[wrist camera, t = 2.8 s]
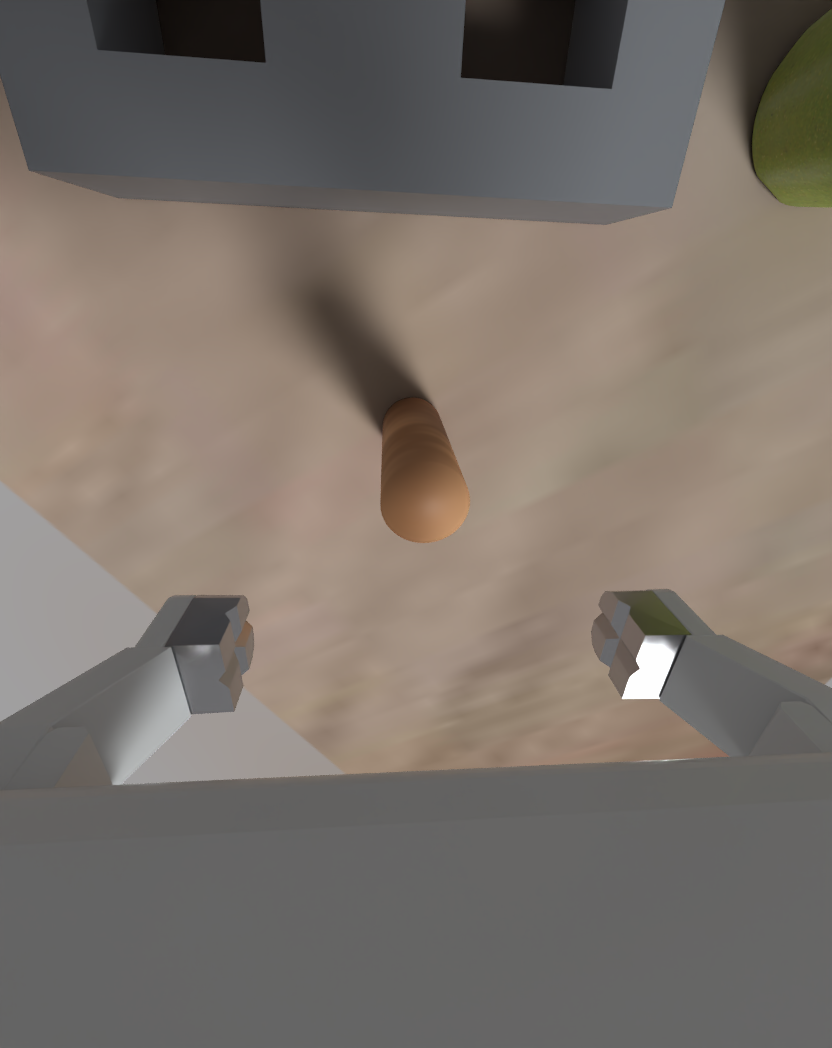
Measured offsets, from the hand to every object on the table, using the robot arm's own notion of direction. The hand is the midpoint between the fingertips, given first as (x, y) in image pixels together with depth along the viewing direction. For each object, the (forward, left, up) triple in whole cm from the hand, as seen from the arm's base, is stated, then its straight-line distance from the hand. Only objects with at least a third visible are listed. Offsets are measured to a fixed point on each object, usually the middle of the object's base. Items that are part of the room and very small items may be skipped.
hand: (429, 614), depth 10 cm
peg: (0, 0, -14) cm, 14 cm away
